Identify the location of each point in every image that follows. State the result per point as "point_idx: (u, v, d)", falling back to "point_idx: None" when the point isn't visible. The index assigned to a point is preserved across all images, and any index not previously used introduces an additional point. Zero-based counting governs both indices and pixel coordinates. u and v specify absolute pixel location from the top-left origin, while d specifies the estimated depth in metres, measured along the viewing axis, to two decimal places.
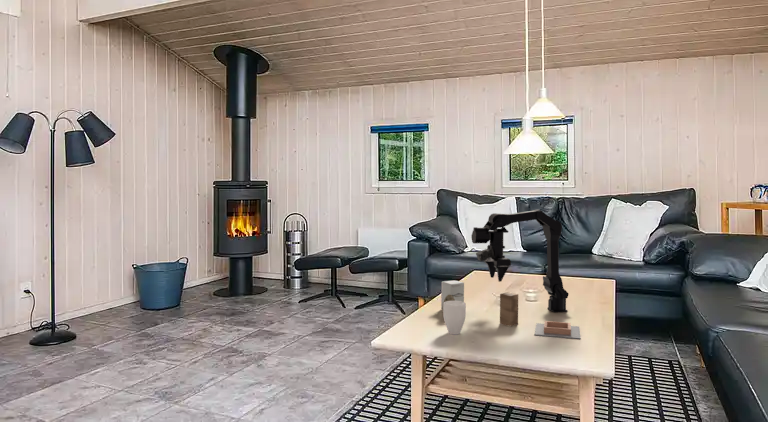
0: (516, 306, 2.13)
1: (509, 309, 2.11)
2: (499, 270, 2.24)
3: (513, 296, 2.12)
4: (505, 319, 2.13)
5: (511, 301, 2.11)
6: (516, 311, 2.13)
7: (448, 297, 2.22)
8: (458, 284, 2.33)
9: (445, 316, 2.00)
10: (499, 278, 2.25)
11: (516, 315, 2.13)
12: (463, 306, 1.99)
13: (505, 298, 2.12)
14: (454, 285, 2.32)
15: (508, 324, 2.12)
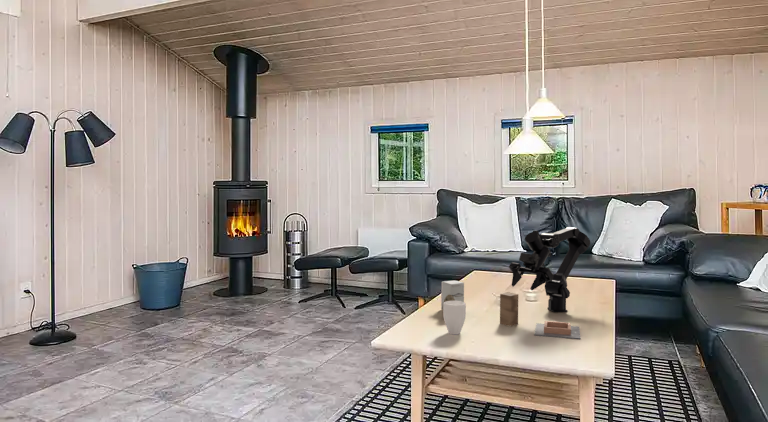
0: (516, 306, 2.13)
1: (509, 309, 2.11)
2: (538, 279, 2.16)
3: (513, 296, 2.12)
4: (505, 319, 2.13)
5: (511, 301, 2.11)
6: (516, 311, 2.13)
7: (448, 297, 2.22)
8: (458, 284, 2.33)
9: (445, 316, 2.00)
10: (533, 286, 2.15)
11: (516, 315, 2.13)
12: (463, 306, 1.99)
13: (505, 298, 2.12)
14: (454, 285, 2.32)
15: (508, 324, 2.12)
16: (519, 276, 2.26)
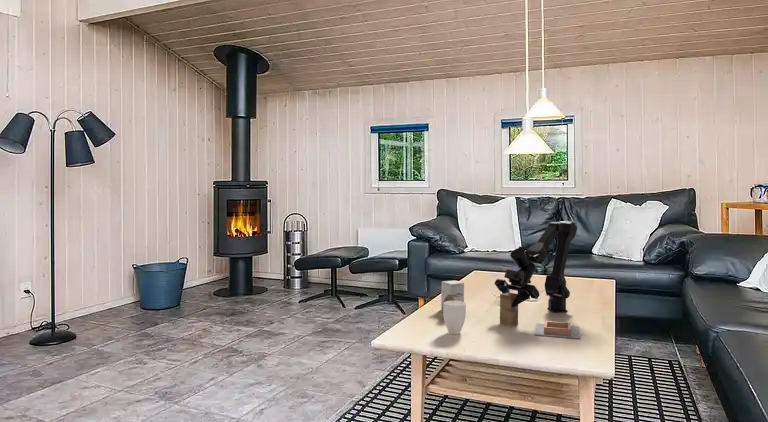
0: (516, 306, 2.13)
1: (509, 309, 2.11)
2: (520, 296, 2.12)
3: (513, 296, 2.12)
4: (505, 319, 2.13)
5: (511, 301, 2.11)
6: (516, 311, 2.13)
7: (448, 297, 2.22)
8: (458, 284, 2.33)
9: (445, 316, 2.00)
10: (514, 303, 2.11)
11: (516, 315, 2.13)
12: (463, 306, 1.99)
13: (505, 298, 2.12)
14: (454, 285, 2.32)
15: (508, 324, 2.12)
16: None
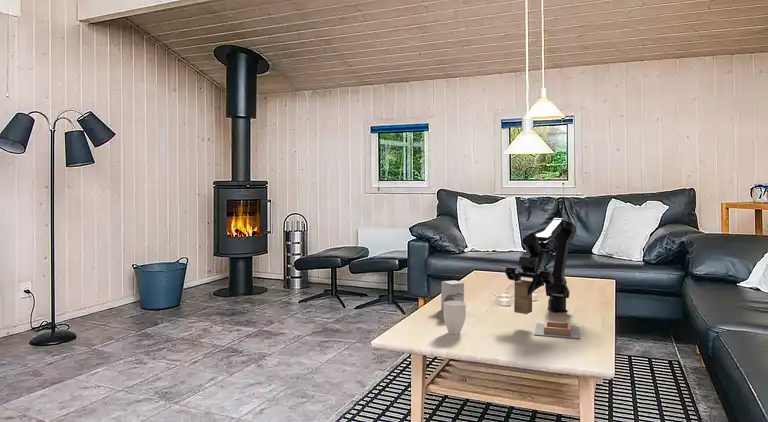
0: (531, 293, 2.09)
1: (525, 297, 2.06)
2: (535, 282, 2.08)
3: (528, 283, 2.07)
4: (520, 307, 2.08)
5: (527, 289, 2.06)
6: (531, 298, 2.09)
7: (448, 297, 2.22)
8: (458, 284, 2.33)
9: (445, 316, 2.00)
10: (530, 290, 2.07)
11: (530, 302, 2.09)
12: (463, 306, 1.99)
13: (521, 286, 2.07)
14: (454, 285, 2.32)
15: (524, 312, 2.07)
16: None
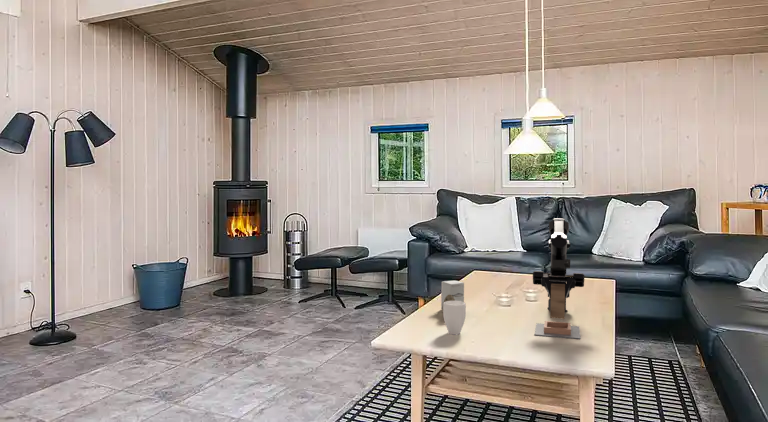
0: None
1: (563, 301, 2.00)
2: None
3: None
4: (558, 312, 2.01)
5: (564, 293, 2.01)
6: None
7: (448, 297, 2.22)
8: (458, 284, 2.33)
9: (445, 316, 2.00)
10: (566, 294, 2.02)
11: None
12: (463, 306, 1.99)
13: (558, 290, 2.01)
14: (454, 285, 2.32)
15: (562, 317, 2.01)
16: None
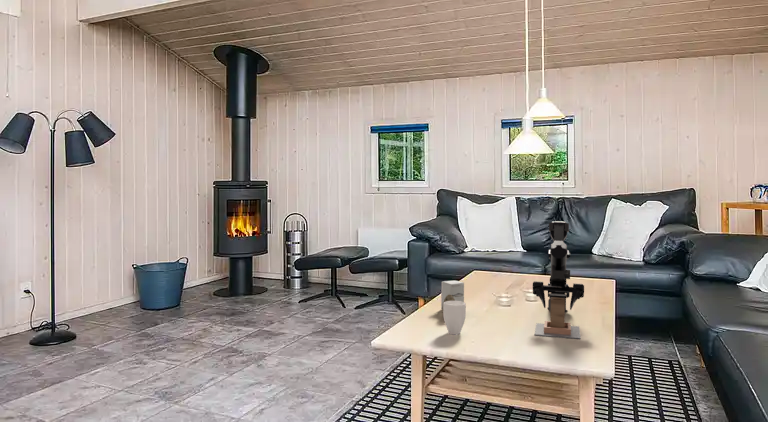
0: None
1: (563, 315, 2.01)
2: None
3: (564, 300, 2.02)
4: (558, 326, 2.01)
5: (564, 306, 2.01)
6: None
7: (448, 297, 2.22)
8: (458, 284, 2.33)
9: (445, 316, 2.00)
10: (572, 305, 2.01)
11: None
12: (463, 306, 1.99)
13: (558, 304, 2.01)
14: (454, 285, 2.32)
15: None
16: None
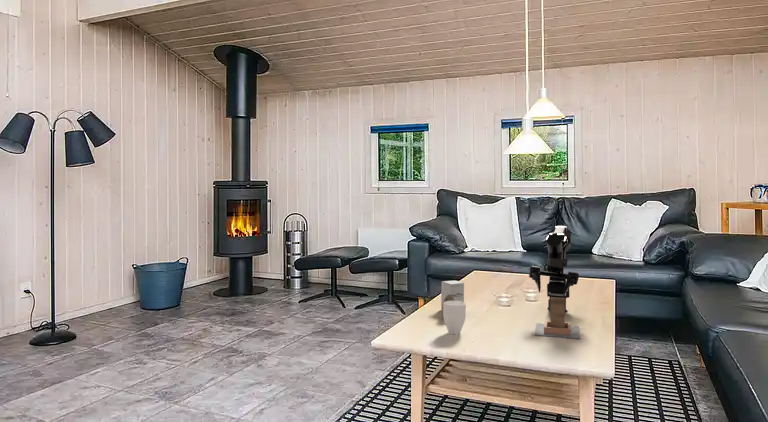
0: None
1: (563, 315, 2.01)
2: None
3: (564, 300, 2.02)
4: (558, 326, 2.01)
5: (564, 306, 2.01)
6: None
7: (448, 297, 2.22)
8: (458, 284, 2.33)
9: (445, 316, 2.00)
10: (565, 292, 2.12)
11: None
12: (463, 306, 1.99)
13: (558, 304, 2.01)
14: (454, 285, 2.32)
15: None
16: None
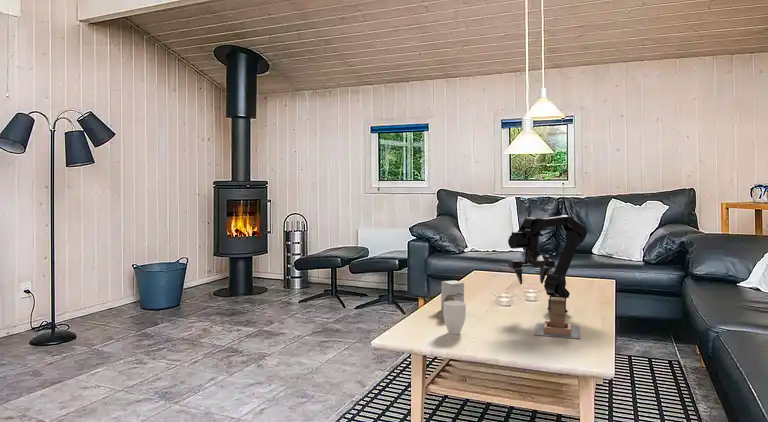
0: None
1: (563, 315, 2.01)
2: None
3: (564, 300, 2.02)
4: (558, 326, 2.01)
5: (564, 306, 2.01)
6: None
7: (448, 297, 2.22)
8: (458, 284, 2.33)
9: (445, 316, 2.00)
10: None
11: None
12: (463, 306, 1.99)
13: (558, 304, 2.01)
14: (454, 285, 2.32)
15: None
16: None
